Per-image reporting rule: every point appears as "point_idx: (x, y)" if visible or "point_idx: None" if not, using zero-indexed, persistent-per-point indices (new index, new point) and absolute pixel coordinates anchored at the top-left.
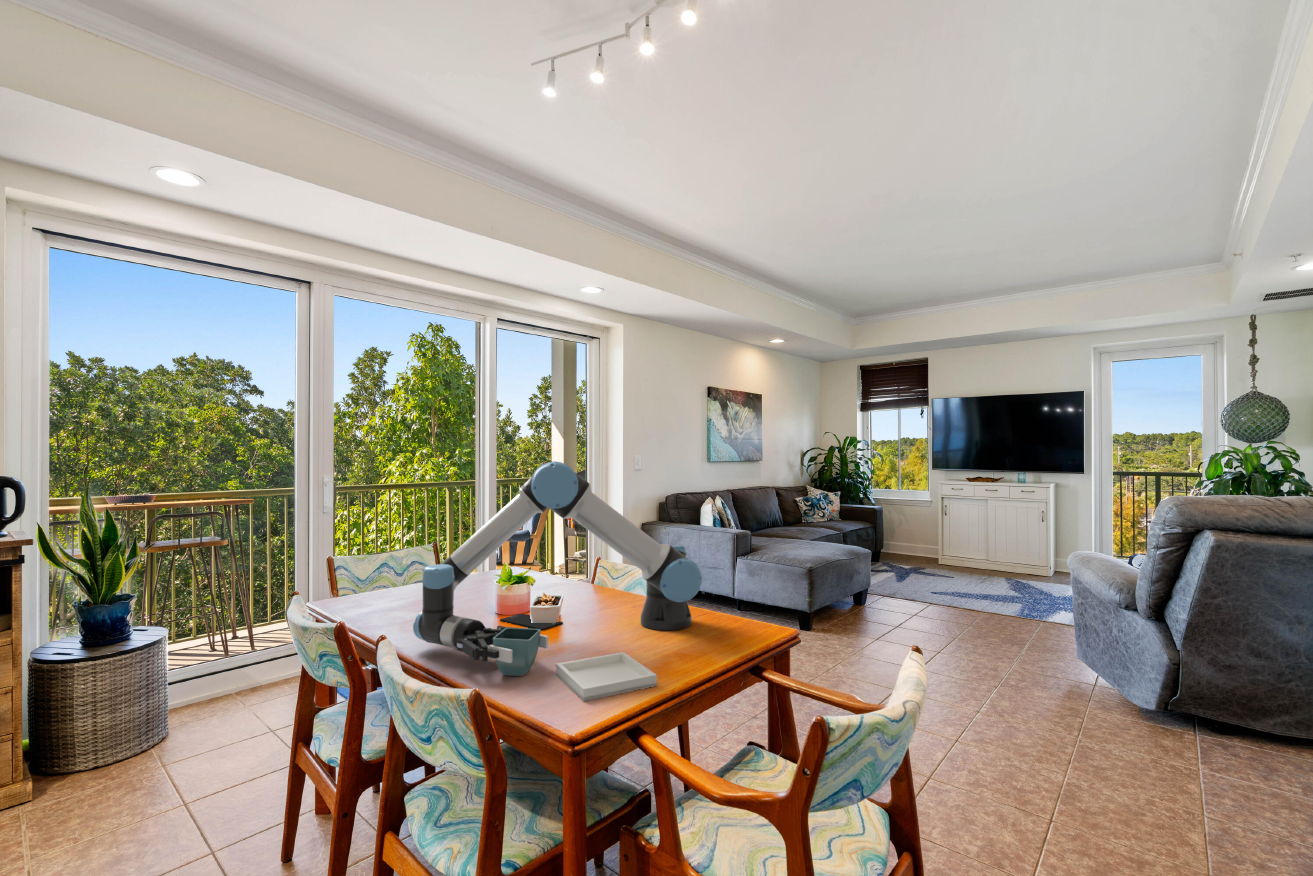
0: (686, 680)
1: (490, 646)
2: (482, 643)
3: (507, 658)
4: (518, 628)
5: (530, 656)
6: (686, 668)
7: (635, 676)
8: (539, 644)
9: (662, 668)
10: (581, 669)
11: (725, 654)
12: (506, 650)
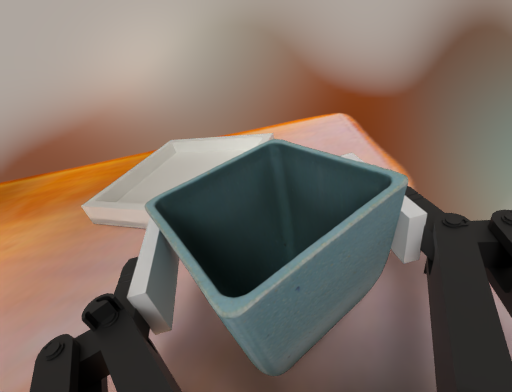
0: (141, 156)
1: (419, 209)
2: (469, 274)
3: None
4: (186, 254)
5: (268, 205)
6: (97, 175)
7: (166, 166)
8: (174, 252)
9: (106, 185)
10: None
11: (23, 187)
12: (360, 160)
